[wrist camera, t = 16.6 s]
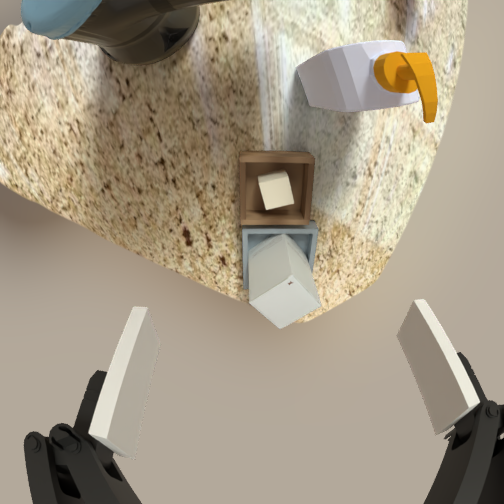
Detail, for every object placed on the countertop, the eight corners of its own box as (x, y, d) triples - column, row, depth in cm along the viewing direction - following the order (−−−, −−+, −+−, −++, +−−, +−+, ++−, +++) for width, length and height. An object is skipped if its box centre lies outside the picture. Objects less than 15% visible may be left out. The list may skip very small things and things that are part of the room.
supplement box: (246, 250, 46) (246, 302, 35) (282, 225, 43) (294, 273, 33) (272, 277, 49) (279, 331, 38) (307, 255, 46) (323, 306, 36)
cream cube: (264, 199, 41) (266, 210, 37) (257, 175, 39) (258, 183, 35) (290, 193, 40) (294, 203, 37) (284, 168, 38) (288, 176, 35)
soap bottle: (310, 111, 34) (384, 133, 15) (294, 67, 31) (355, 32, 11) (365, 98, 33) (474, 118, 13) (352, 55, 29) (455, 33, 10)
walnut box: (241, 213, 43) (240, 224, 39) (240, 150, 37) (239, 156, 34) (304, 213, 43) (309, 224, 39) (308, 152, 37) (315, 158, 34)
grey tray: (243, 278, 50) (243, 289, 47) (242, 220, 43) (242, 229, 41) (306, 277, 50) (309, 287, 47) (314, 220, 43) (318, 228, 41)
